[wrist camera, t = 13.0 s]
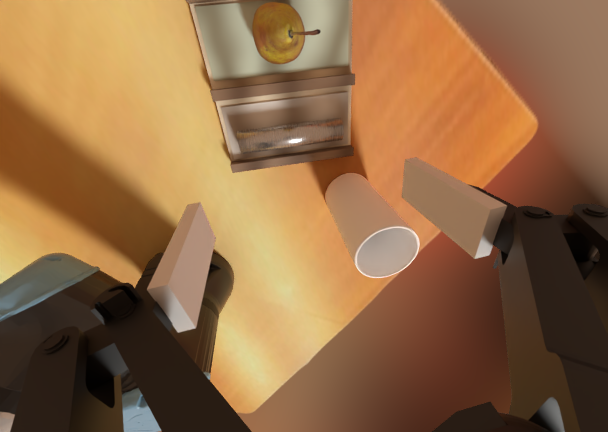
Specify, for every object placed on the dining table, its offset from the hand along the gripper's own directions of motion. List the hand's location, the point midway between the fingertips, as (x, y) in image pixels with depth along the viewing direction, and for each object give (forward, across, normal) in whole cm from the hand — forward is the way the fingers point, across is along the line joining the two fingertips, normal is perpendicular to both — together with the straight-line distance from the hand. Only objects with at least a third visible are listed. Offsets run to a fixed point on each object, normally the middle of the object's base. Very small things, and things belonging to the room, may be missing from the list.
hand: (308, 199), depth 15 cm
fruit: (+22, +2, +10) cm, 24 cm away
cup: (+23, +10, -13) cm, 28 cm away
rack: (+23, +2, +5) cm, 24 cm away
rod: (+21, +2, 0) cm, 21 cm away
